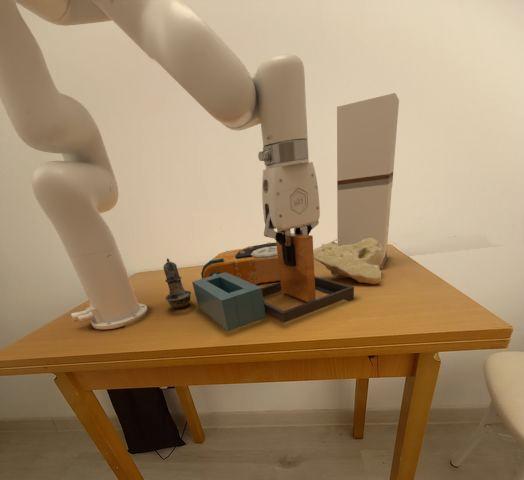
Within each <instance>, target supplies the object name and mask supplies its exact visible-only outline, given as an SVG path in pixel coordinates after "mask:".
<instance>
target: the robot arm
mask: <svg viewBox="0 0 524 480" xmlns="http://www.w3.org/2000/svg"><path fill="white" fill-rule="evenodd" d="M17 5H20V6H21V7H23V8H24V9H26V10H27V11H29V12H31V13H32V14H34V15H36V16H37V17H39V18H40V19H42V20H44V21H46V22H47V23H50V24H52V25H56V26H64V27H65V26H67V27H68V26H77V25H78V26H79V25H87V24H96V23H105V22H113V23H114V24H115V25H116V26H118V27H119V29H121V31H123V32H124V33H125V35H126V36H127V37H128V38H130V40H131V41H132V42H133V43H135V45H136V46H138V48H139V49H140V50H141V51H143V52H144V54H146V56H147V57H148V58H149V59H152V60H153V61H155V62H156V63H157V64H158V65H159V66H160V67H161V68H162V69H163V70H164V71H166V73H168V75H169V76H171V78H173V80H174V81H175V82H177V84H178V85H180V87H181V88H183V89H184V91H186V92H187V93H188V94H189V95H190V96H191V97H192V98H193V99H194V100H195V101H196V102H197V103H198V104H199V105H200V106H201V107H202V108H203V109H204V110H205V111H206V113H208V114H209V115H210V116H211V117H212V118H213V119H215V120H216V121H217V122H219V123H221V124H222V126H224V127H226V129H229V130H232V131H238V132H239V131H245V130H248V129H249V128H252V127H255V126H257V125H260V130H261V131H260V132H261V139H262V150H261V151H259V152H258V154H257V155H258V156H257V157H258V160H259V162H263V163H264V166H265V168H264V169H262V178H261V180H262V182H261V198H262V211H263V212H262V213H263V221H264V225H265V226H264V230H263V236H264V237H265V238H270V239H274V240H275V242H276V241H277V242H279V244H280V245H282V254H283V261H284V264H285V265H288V266H292V267H293V266H295V251H294V245H291V233H292V232H291V230H292V229H293V233H294V234H302V235H310V233H311V231H312V230H313V229H315V228H316V227H317V226H318V225H319V219H320V217H321V206H320V194H319V187H318V186H319V185H318V180H317V173H316V170H315V166H314V162H313V161H310V160H309V158H310V156H309V140H308V139H309V137H308V117H307V99H306V96H307V95H306V78H305V77H306V75H305V66H304V62H303V60H302V59H301V58H300V57H299V56H297V55H295V54H289V53H285V54H279V55H274V56H270V57H269V58H267V59H265V60H264V61H261V63H259V64H258V67H257V68H256V71H255V72H249V70H248V69H247V67H246V65H245V64H244V62H243V61H242V60H241V59H240V57H239V56H238V55H237V54H236V53H235V52H234V50H232V49H231V48H230V47H229V45H228V44H227V43H226V42H225V41H224V40H223V39H222V38H221V37H220V36H219V35H218V33H216V32H215V31H214V30H213V28H212V27H211V26H210V25H209V24H208V23H207V22H206V21H205V19H203V17H201V16H200V15H199V13H198V12H196V10H195V9H194V8H193V7H192V6H191V5H190V4H189V3H188V2H187V1H185V0H0V101H1V103H2V105H3V107H4V110H5V112H6V114H7V116H8V118H9V120H10V122H11V124H12V127H13V129H14V131H15V132H16V134H17V136H18V137H19V139H20V140H21V141H22V142H24V144H25V145H27V146H28V147H30V148H32V149H34V150H36V151H39V152H44V153H48V154H49V153H51V154H60V155H61V156H62V158H63V160H51V161H47V162H44V163H42V164H40V165H39V166H37V167H36V168H35V170H34V171H33V174H32V176H31V187H32V192H33V195H34V197H35V199H36V201H37V203H38V205H39V207H40V208H41V209H42V211H43V212H44V214H45V215H46V216H47V218H48V220H49V221H50V222H51V224H52V226H53V227H54V229H55V231H56V233H57V235H58V237H59V238H60V240H61V242H62V245H63V247H64V249H65V251H66V254H67V256H68V257H69V259H70V261H71V264H72V266H73V269H74V271H75V272H76V274H77V278H78V279H79V282H80V284H81V287H82V288H83V290H84V293H85V295H86V297H87V299H88V302H89V307H86V308H85V310H80V311H75V312H72V313H70V315H71V317H72V320H73V321H74V322H75V323H76V322H79V323H83V322H86V321H90V324H91V326H92V328H93V329H95V330H113V329H118V328H121V327H125V326H126V325H125V324H127V323H130V322H133V321H135V320H137V319H139V318H141V317H142V316H144V315H145V314H146V313H147V312H148V306H147V305H146V304H143V303H139V300H138V299H137V295H136V293H135V290H134V287H133V285H132V282H131V280H130V277H129V273H128V271H127V268H126V265H125V263H124V259H123V258H122V255H121V251H120V249H119V247H118V244H117V241H116V238H115V236H114V234H113V232H112V230H111V228H110V227H109V224H107V222H106V220H105V219H104V218H103V216H102V215H101V214H103V213H106V212H109V211H111V210H112V209H113V208H115V206H116V205H117V203H118V200H119V187H118V183H117V179H116V175H115V172H114V170H113V167H112V163H111V161H110V158H109V154H108V151H107V149H106V146H105V143H104V140H103V137H102V134H101V132H100V131H101V130H100V129H99V126H98V124H97V122H96V120H95V119H94V117H93V115H92V114H91V112H90V111H89V110H88V109H87V108H86V106H85V105H83V104H82V103H81V102H80V101H78V100H77V99H76V98H74V97H71V96H69V95H67V94H64V93H61V92H60V91H59V90H58V88H57V86H56V84H55V82H54V80H53V77H52V75H51V72H50V70H49V67H48V64H47V61H46V58H45V55H44V54H43V51H42V49H41V47H40V45H39V43H38V41H37V39H36V37H35V36H34V34H33V32H32V30H31V29H30V28H29V26H28V24H27V22H26V21H25V19H24V18H23V16H22V15H21V12H20V10H19V8H18V6H17ZM275 229H276V230H275Z"/></svg>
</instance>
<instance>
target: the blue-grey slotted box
mask: <svg viewBox="0 0 524 480" xmlns="http://www.w3.org/2000/svg"><path fill="white" fill-rule="evenodd" d="M191 283H192V287H193V291H194V296H195V300H196V302H197V306H198V308H199V309H200V310H201V311H202V312H203V313H205V314H206V315H207V316H208V317H210V319H212V320H213V321H214V322H216V323H217V324H218V325H220V326H221V327H222V328H223V329H224V330H226V331H227V332H230V331H233V330H235V329H238V328H241V327H244V326H246V325H249V324H252V323H255V322H258V321H260V320H262V319H266V318H267V316H266V313H265V308H264V302H265V301H264V297H263V294H262V288H263V287H261V286H258V284H255V285H254V284H252V283H250V282H247V281H245V280H243V279H240V278H238V277H236V276H233V275H231V274H229V273H226V272H225V273H221V274H218V275H214V276H210V277H207V278H203V279H202V278H201V279H197V280H193V281H191Z"/></svg>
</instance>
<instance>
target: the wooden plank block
mask: <svg viewBox="0 0 524 480" xmlns="http://www.w3.org/2000/svg"><path fill="white" fill-rule="evenodd" d="M313 237H314V236H313V235H312V234H311V235H310V234H309V235H302V234H294V232H291V245H294V251H295V266H293V267H292V266H288V265H285V264H284V261H283V254H282V245H280V244H279V242H277V241H276V240H275V243H276V245H277V254H278V264H279V273H280V281H279V282H281V291H280V292H282V293H284V294H286V295H288V296H291V297H294V298H297V299H299V300H301V301H304V302H305V303H307V302H310V301H313V300H316V299H317V298H316V297H317V296H316V290H315V276H316V275H315V259H314V254H313V250H314V238H313Z"/></svg>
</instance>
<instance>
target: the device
mask: <svg viewBox="0 0 524 480" xmlns="http://www.w3.org/2000/svg"><path fill="white" fill-rule="evenodd" d="M225 272H226V273H229V274H231V275H233V276H236V277H238V278H240V279H243V280H245V281H247V282H250V283H252V284H254V285H259V284H263V283H264V284H265V283H275V282H277V283H278V282H280V273H279V264H278V254H277V245H276V242H266V243H262V244H256V245H250V246H247V247H243V248H239V249H238V248H237V249H231V250H225V251H223V252H219V253H218V254H217V255H215V256H214V257H213V258H212V259H210V260H209V261H207V263H205V264H204V265H203V266H202V270H201V272H200V274H201V279H203V278H207V277H210V276H214V275H218V274H221V273H225Z"/></svg>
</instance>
